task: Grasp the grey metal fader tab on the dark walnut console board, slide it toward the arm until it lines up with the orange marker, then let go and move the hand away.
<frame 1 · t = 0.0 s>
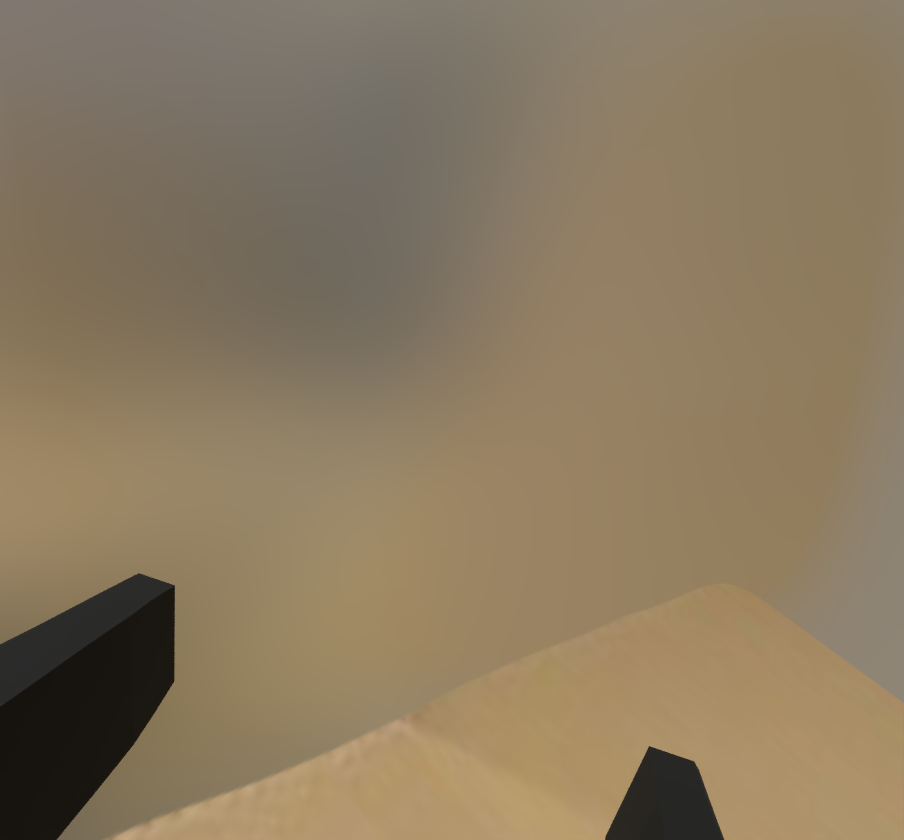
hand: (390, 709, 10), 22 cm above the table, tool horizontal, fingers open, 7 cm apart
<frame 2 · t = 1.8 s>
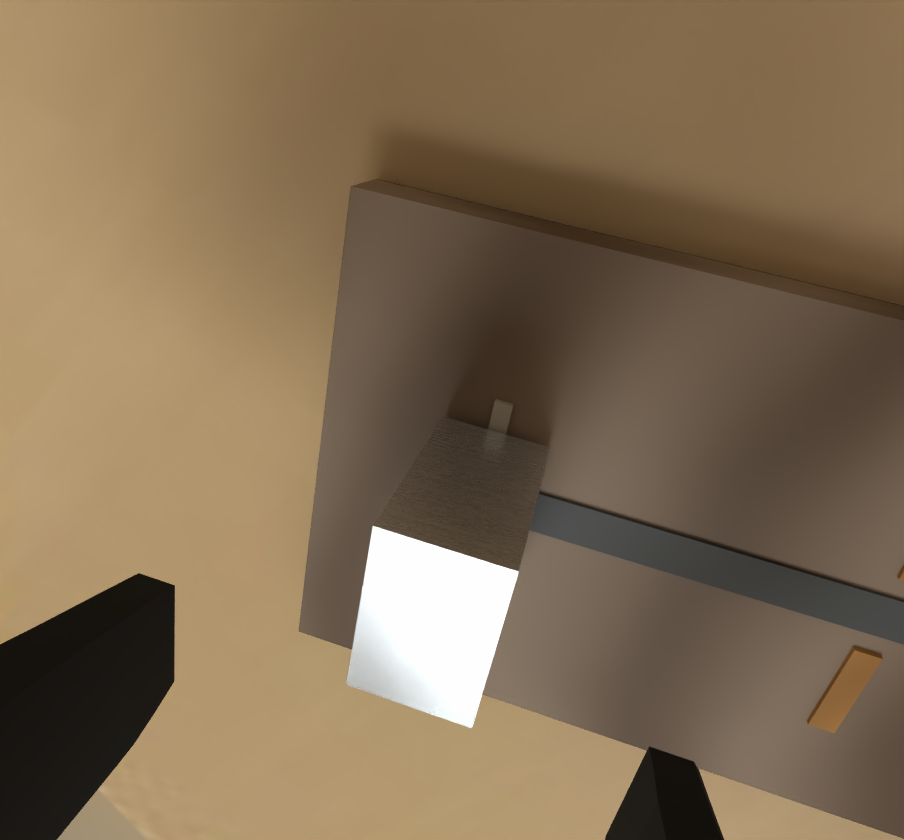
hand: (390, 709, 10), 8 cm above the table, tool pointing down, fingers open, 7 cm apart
fader tab: (455, 557, 13), point 4 cm above the table, slide at 0.0 cm
console board: (736, 535, 16), on the table
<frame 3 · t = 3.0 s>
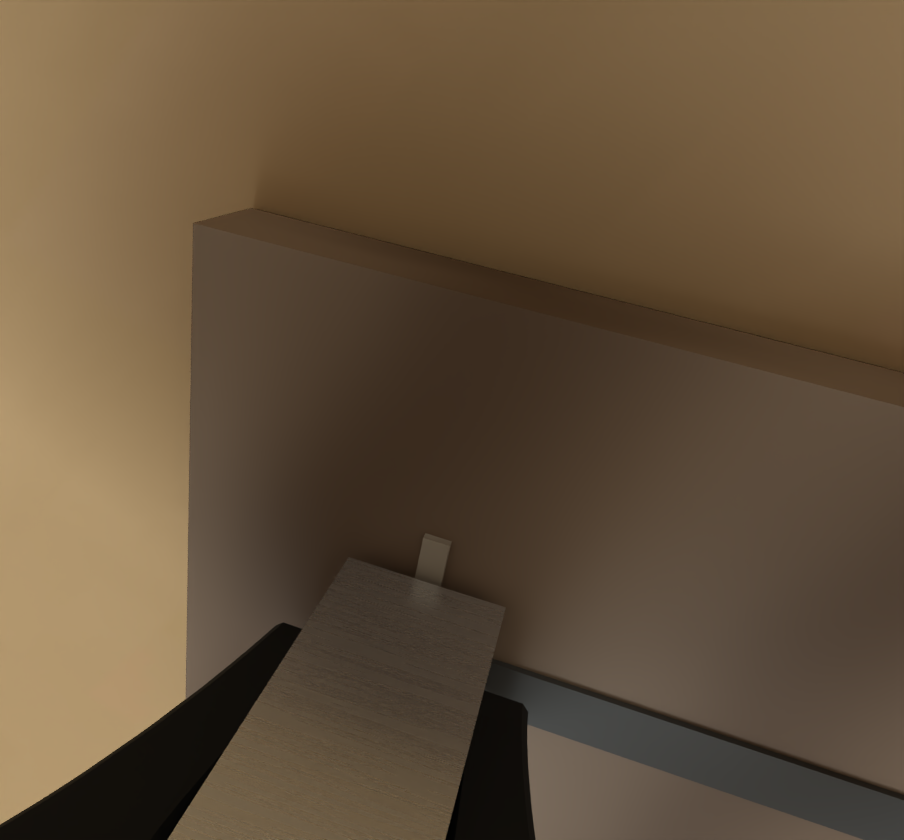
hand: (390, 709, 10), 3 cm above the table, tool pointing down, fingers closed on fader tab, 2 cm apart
fader tab: (355, 794, 9), point 4 cm above the table, slide at 0.0 cm, touching gripper
console board: (774, 706, 11), on the table
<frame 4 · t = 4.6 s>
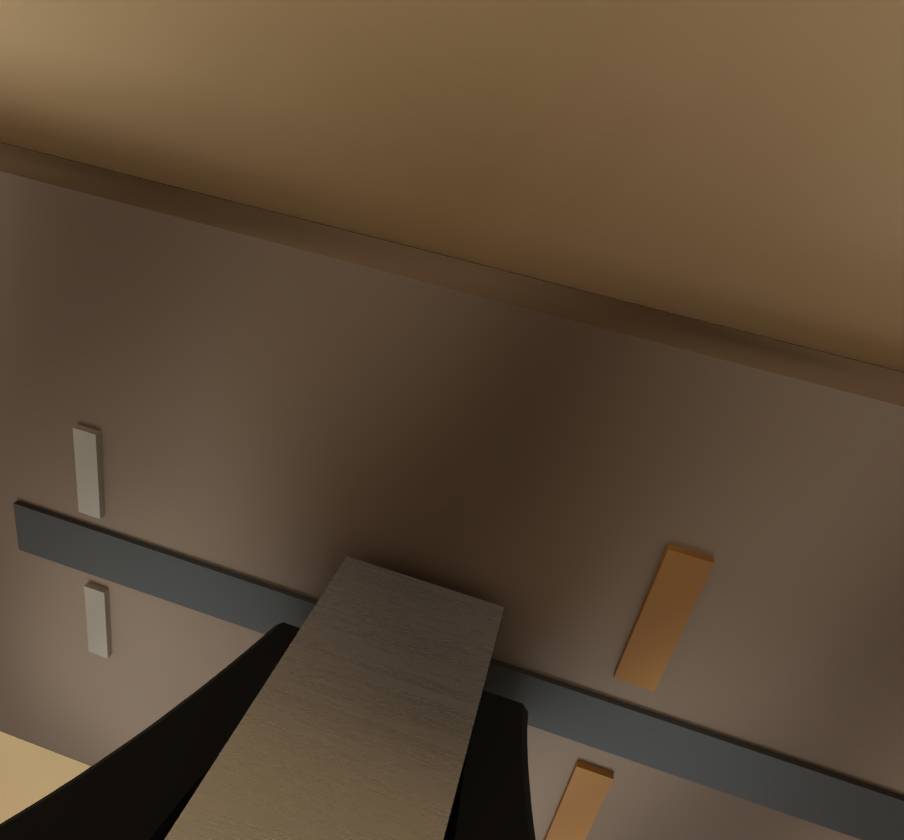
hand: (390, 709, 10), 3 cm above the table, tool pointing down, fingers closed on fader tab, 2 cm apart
fader tab: (353, 794, 9), point 4 cm above the table, slide at 5.7 cm, touching gripper
console board: (451, 601, 12), on the table
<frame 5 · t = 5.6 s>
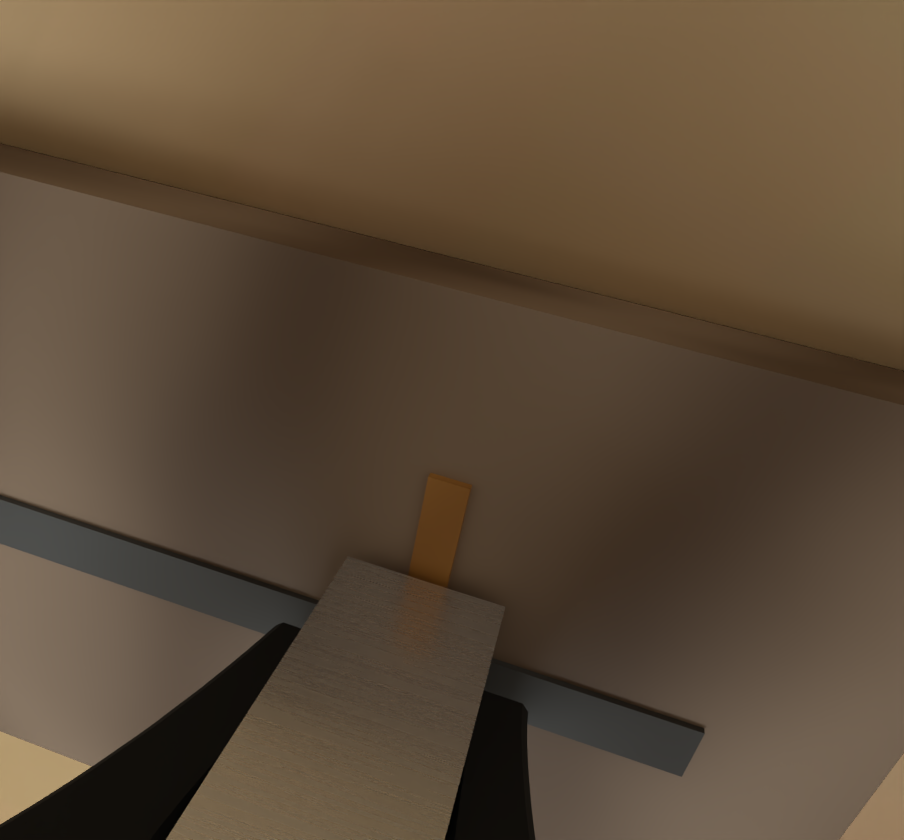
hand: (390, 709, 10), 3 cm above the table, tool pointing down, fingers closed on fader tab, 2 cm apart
fader tab: (354, 794, 9), point 4 cm above the table, slide at 9.0 cm, touching gripper
console board: (282, 546, 13), on the table
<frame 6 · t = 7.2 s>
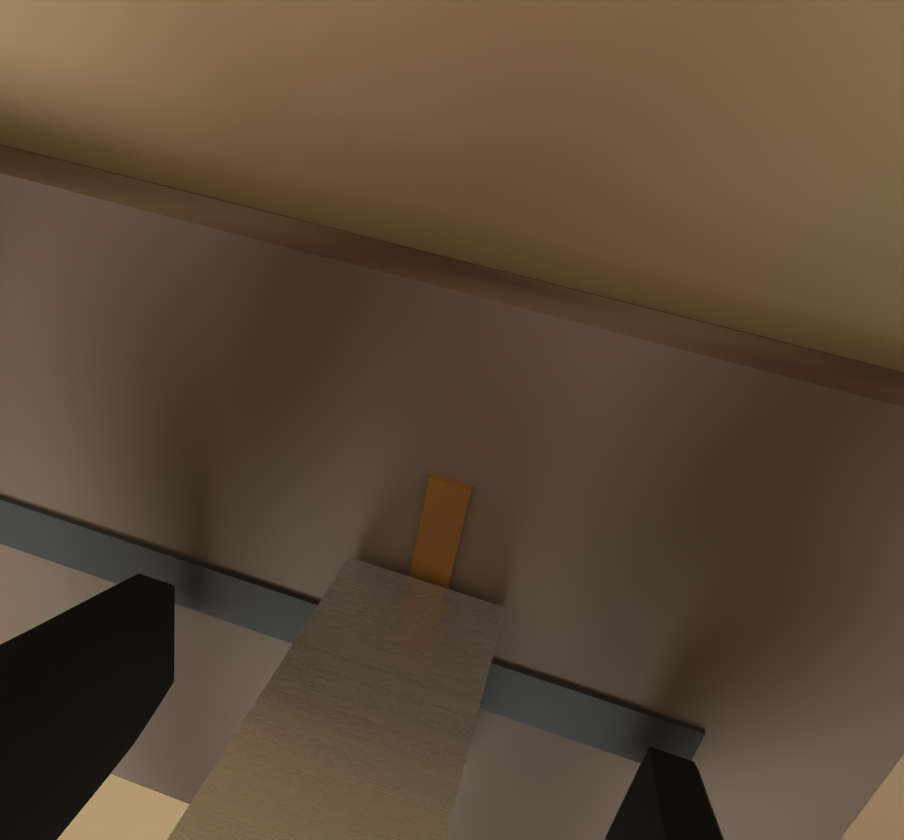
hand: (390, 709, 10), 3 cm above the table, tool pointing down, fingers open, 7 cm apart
fader tab: (355, 794, 9), point 4 cm above the table, slide at 9.0 cm
console board: (283, 547, 13), on the table
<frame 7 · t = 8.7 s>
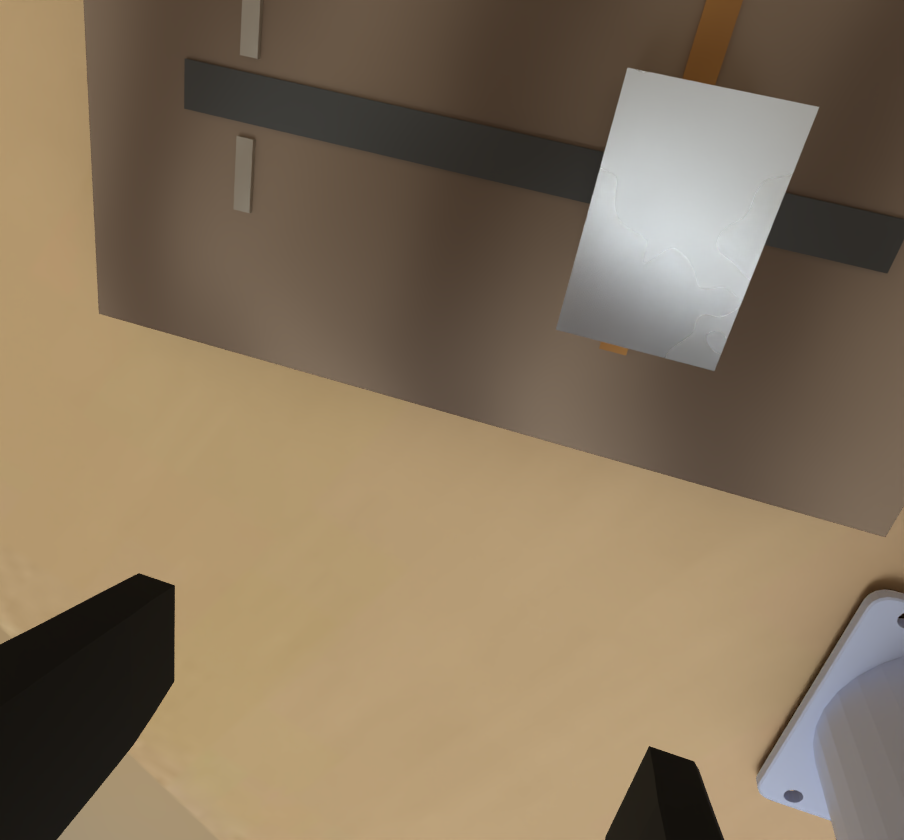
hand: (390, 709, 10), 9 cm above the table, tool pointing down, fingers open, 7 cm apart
fader tab: (667, 209, 11), point 4 cm above the table, slide at 9.0 cm
console board: (527, 155, 15), on the table
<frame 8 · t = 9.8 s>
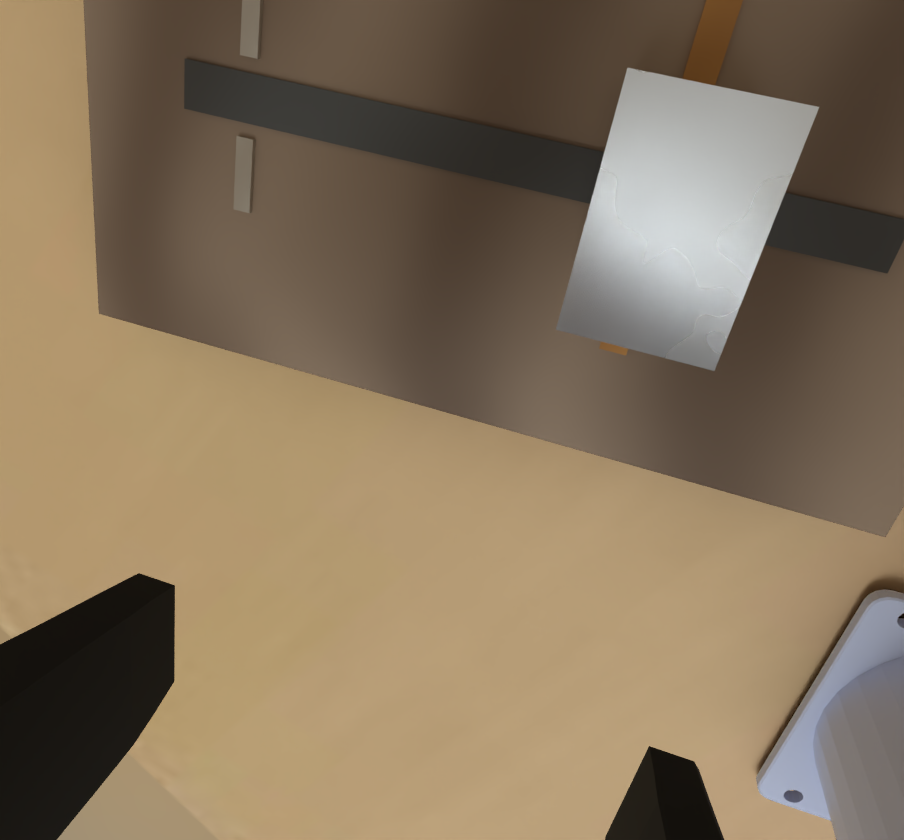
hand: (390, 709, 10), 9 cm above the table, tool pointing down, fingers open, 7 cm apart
fader tab: (667, 209, 11), point 4 cm above the table, slide at 9.0 cm
console board: (527, 155, 15), on the table
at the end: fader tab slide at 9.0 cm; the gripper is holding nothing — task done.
